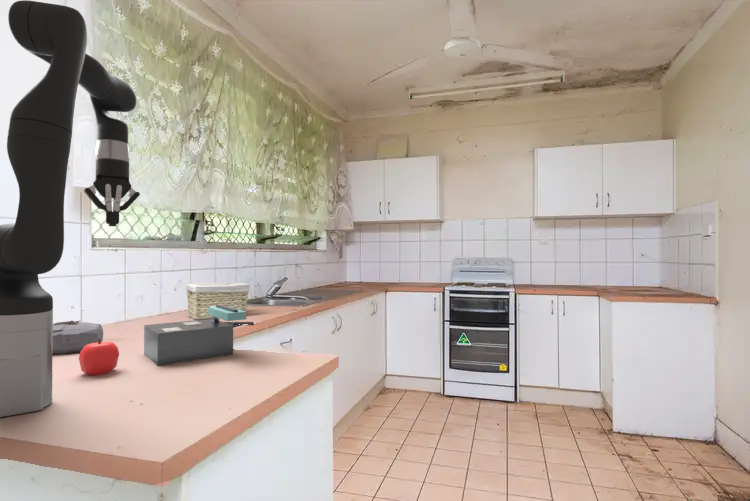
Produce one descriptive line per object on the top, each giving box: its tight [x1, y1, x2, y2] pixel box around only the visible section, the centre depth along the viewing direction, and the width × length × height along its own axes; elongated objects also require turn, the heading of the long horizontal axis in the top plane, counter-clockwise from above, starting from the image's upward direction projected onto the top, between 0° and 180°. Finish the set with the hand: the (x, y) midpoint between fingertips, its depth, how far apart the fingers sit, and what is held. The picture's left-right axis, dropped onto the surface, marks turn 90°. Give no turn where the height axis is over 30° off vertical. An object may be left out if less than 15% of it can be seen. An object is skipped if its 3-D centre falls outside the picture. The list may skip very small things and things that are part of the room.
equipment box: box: [143, 316, 234, 367], centre depth 119 cm, size 16×19×10 cm
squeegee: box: [223, 321, 254, 328], centre depth 162 cm, size 14×15×3 cm
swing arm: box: [208, 305, 247, 322], centre depth 119 cm, size 18×5×3 cm, turn 38°
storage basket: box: [185, 281, 250, 320], centre depth 191 cm, size 24×16×15 cm
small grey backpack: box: [52, 320, 104, 355], centre depth 124 cm, size 15×8×20 cm
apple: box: [78, 338, 120, 376], centre depth 101 cm, size 8×8×8 cm
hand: (112, 226), depth 113 cm, fingers closed
